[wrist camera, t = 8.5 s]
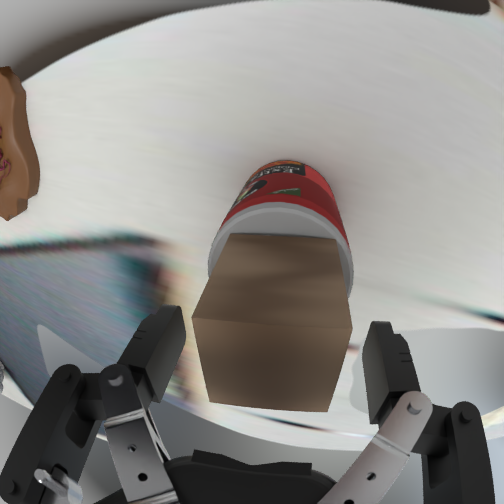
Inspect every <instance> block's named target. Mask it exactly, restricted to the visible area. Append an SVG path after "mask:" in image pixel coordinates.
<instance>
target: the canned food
mask: <svg viewBox="0 0 504 504" xmlns="http://www.w3.org/2000/svg"><path fill="white" fill-rule="evenodd" d="M230 234H246V235H267V236H288V237H307V238H325V239H336V242H337V247H338V251H339V256H340V261H341V266H342V271H343V276H344V282H345V287H346V292H347V298H349V296H350V293H351V289H352V285H353V272H354V271H353V262H352V256H351V251H350V248H349V243H348V239H347V236H346V233H345V230H344V226H343V223H342V220H341V217H340V214H339V211H338V208H337V205H336V202H335V199H334V196H333V193H332V191H331V189H330V187H329V185H328V183H327V182H326V181H325V179H324V178H323V177H322V176H321V175H320V174H319V173H318V172H317V171H315V170H314V169H312V168H311V167H309V166H307V165H304V164H302V163H299V162H294V161H277V162H273V163H269V164H267V165H265V166H263V167H261V168H260V169H258V170H257V171H256V172H255V173H254V174H253V175H252V176H251V177H250V178H249V180H248V181H247V182H246V184H245V186H244V187H243V189H242V191H241V192H240V194H239V196H238V197H237V199H236V201H235V202H234V204H233V206H232V207H231V209H230V211H229V213H228V214H227V216H226V218H225V219H224V221H223V223H222V225H221V227H220V229H219V231H218V232H217V235H216V237H215V239H214V241H213V243H212V247H211V250H210V254H209V259H208V275H209V278H210V276H211V273H212V271H213V269H214V267H215V265H216V263H217V261H218V258H219V256H220V254H221V252H222V250H223V248H224V246H225V243H226V241H227V239H228V237H229V235H230Z"/></svg>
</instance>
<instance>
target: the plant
mask: <svg viewBox="0 0 504 504" xmlns="http://www.w3.org/2000/svg"><path fill="white" fill-rule="evenodd" d="M21 83H22V82H21V80H20V78H19V77H18V76H17V75H16V74H15V73H14V72H13V70H12V69H11V67H10V66H6V67H0V216H1V217H2V218H4V219H5V220H6V221H9V220H10V219H12V218H13V217H15V216H17V215H19V214H20V213H22V212H23V211H25V210H26V209H27V204H28V199H29V198H31V197H32V196H34V195H36V194H37V192H38V187H39V180H40V168H39V161H38V157H37V154H36V150H35V147H34V144H33V142H32V139H31V135H30V131H29V126H28V120H27V113H26V92H25V90H24V89H23V87H22V85H21Z"/></svg>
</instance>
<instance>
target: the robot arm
mask: <svg viewBox="0 0 504 504" xmlns="http://www.w3.org/2000/svg"><path fill="white" fill-rule="evenodd" d="M185 340H186V330H185V325H184V320H183V315H182V310H181V307H180V306H175V305H167V304H162V305H161V307H160V308H159V310H158V312H157V314H156V315H154V314H150V315H149V316H148V317H146V318H145V319H144V320H143V321H142V322H141V323H140V325H139V327H138V328H137V331H136V332H135V333H134V335H133V338H131V340H130V342H129V343H128V345H127V347H126V348H125V350H124V352H123V354H122V355H121V357H120V359H119V360H118V362H117V364H111V365H109V366H107V367H105V368H104V369H103V370H102V371H101V372H100V373H81V371H80V369H79V368H78V367H77V366H75V365H72V364H66V365H63V366H61V367H59V368H58V369H57V370H56V371H55V372H54V374H53V375H52V377H51V378H50V380H49V382H48V383H47V385H46V387H45V388H44V390H43V392H42V394H41V395H40V397H39V399H38V401H37V402H36V404H35V406H34V408H33V410H32V412H31V413H30V415H29V417H28V419H27V421H26V423H25V425H24V427H23V428H22V431H21V432H20V434H19V436H18V438H17V440H16V442H15V445H14V446H13V448H12V451H11V453H10V455H9V457H8V459H7V461H6V463H5V466H4V468H3V470H2V472H1V475H0V496H1V498H2V499H3V500H4V501H5V502H7V503H8V504H81V503H82V501H83V497H82V489H81V487H80V485H79V484H78V481H79V478H80V476H81V473H82V470H83V468H84V465H85V462H86V460H87V457H88V455H89V452H90V450H91V447H92V445H93V442H94V440H95V437H96V435H97V433H98V430H99V428H100V425H101V423H102V421H103V420H107V421H106V422H104V428H105V432H106V436H107V440H108V443H109V447H110V450H111V454H112V457H113V460H114V464H115V467H116V470H117V473H118V476H119V479H120V482H121V485H122V489H120V490H118V491H116V492H115V493H113V494H111V495H109V496H107V497H105V498H103V499H102V500H100V501H98V502H96V503H94V504H378V503H379V502H380V501H381V499H382V498H383V497H384V495H385V494H386V493H387V491H388V490H389V488H390V487H391V485H392V484H393V482H394V481H395V480H396V478H397V477H398V475H399V474H400V472H401V471H402V469H403V468H404V466H405V464H406V463H407V461H408V459H409V453H410V452H413V453H419V454H421V458H422V471H423V496H424V504H495V494H494V485H493V478H492V471H491V464H490V458H489V453H488V448H487V442H486V437H485V433H484V428H483V424H482V420H481V416H480V412H479V410H478V409H477V407H476V406H475V405H473V404H472V403H470V402H466V401H463V402H459V403H457V404H456V405H455V406H454V407H453V408H447V407H442V406H437V405H434V404H432V402H431V400H430V399H429V398H428V397H427V396H426V395H425V394H424V393H421V390H420V386H419V382H418V378H417V374H416V371H415V367H414V364H413V362H412V361H413V360H412V357H411V354H410V350H409V346H408V343H407V342H406V340H405V339H404V338H403V337H402V336H401V334H394V333H393V329H392V326H391V323H390V322H385V321H372V323H371V325H370V328H369V331H368V334H367V338H366V341H365V344H364V347H363V353H362V361H363V368H364V376H365V383H366V392H367V400H368V409H369V419H370V424H378V425H379V431H378V432H377V433H376V435H375V436H374V437H373V439H372V440H371V441H370V443H369V444H368V445H367V447H366V448H365V449H364V451H363V452H362V453H361V454H360V456H359V457H358V458H357V459H356V461H355V462H354V463H353V464H352V466H351V467H350V468H349V469H348V470H347V471H346V473H345V474H344V475H343V476H342V477H341V478H340V480H339V481H338V482H336V481H335V480H333V479H332V478H330V477H329V476H327V475H325V474H323V473H321V472H318V471H315V470H312V469H311V468H312V463H298V462H277V463H269V464H261V465H248V464H245V463H243V462H240V461H237V460H235V459H232V458H230V457H227V456H224V455H222V454H216V453H210V452H205V451H200V450H194V453H193V455H192V456H184V457H178V458H174V459H172V460H171V459H170V457H169V455H168V453H167V451H166V449H165V447H164V445H163V443H162V441H161V438H160V436H159V434H158V431H157V429H156V426H155V423H154V421H153V419H152V416H151V413H150V410H149V405H150V403H151V401H153V402H157V403H160V402H161V400H162V397H163V395H164V392H165V390H166V388H167V385H168V383H169V380H170V378H171V376H172V373H173V371H174V368H175V366H176V364H177V361H178V359H179V357H180V354H181V352H182V350H183V347H184V345H185Z"/></svg>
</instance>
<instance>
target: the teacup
mask: <svg viewBox="0 0 504 504" xmlns="http://www.w3.org/2000/svg"><path fill="white" fill-rule="evenodd" d="M3 369H4V366H3V364H2V363H1V361H0V394H1V392H2V391H3V384H2V381H3V379H4V375H3V371H2V370H3Z"/></svg>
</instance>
